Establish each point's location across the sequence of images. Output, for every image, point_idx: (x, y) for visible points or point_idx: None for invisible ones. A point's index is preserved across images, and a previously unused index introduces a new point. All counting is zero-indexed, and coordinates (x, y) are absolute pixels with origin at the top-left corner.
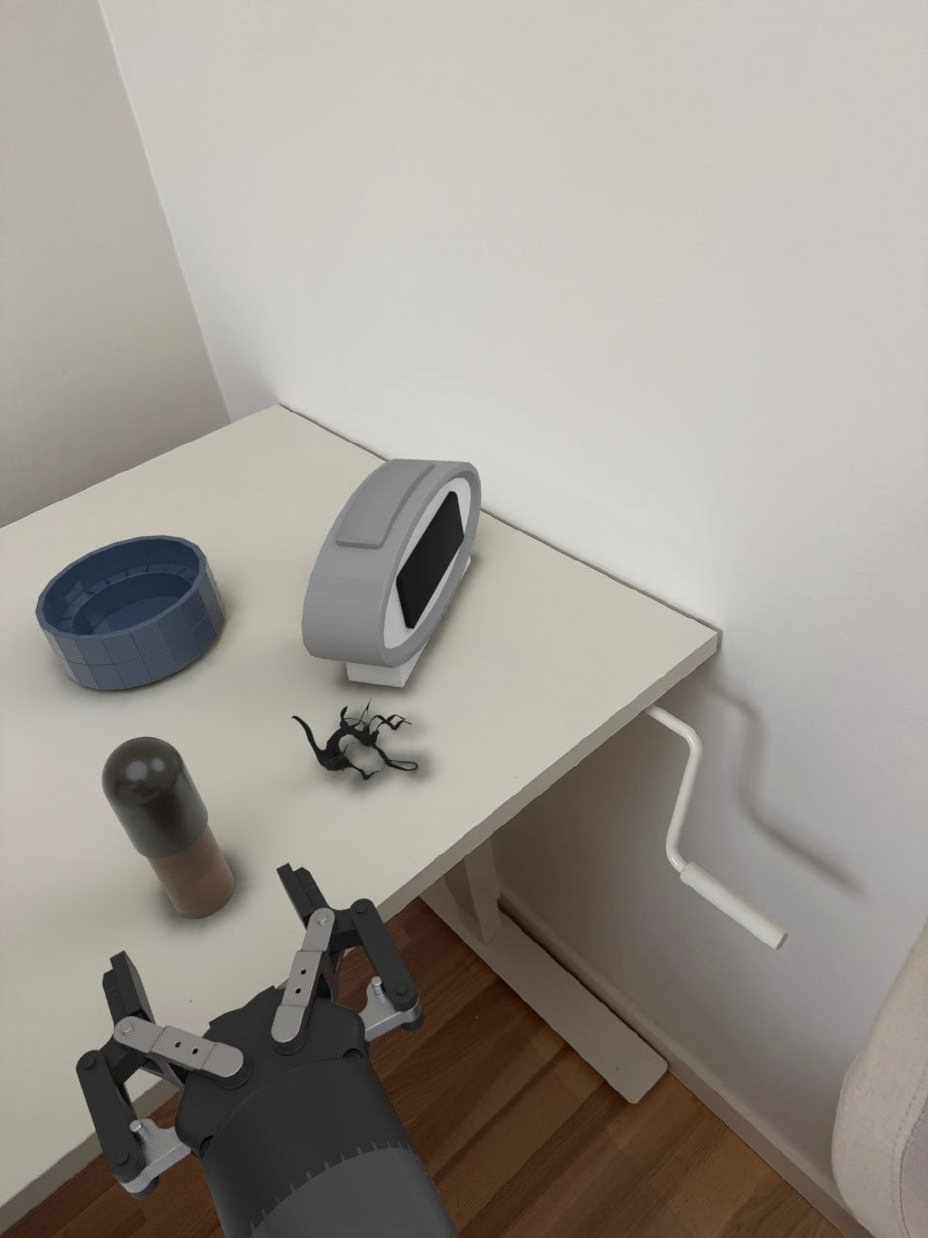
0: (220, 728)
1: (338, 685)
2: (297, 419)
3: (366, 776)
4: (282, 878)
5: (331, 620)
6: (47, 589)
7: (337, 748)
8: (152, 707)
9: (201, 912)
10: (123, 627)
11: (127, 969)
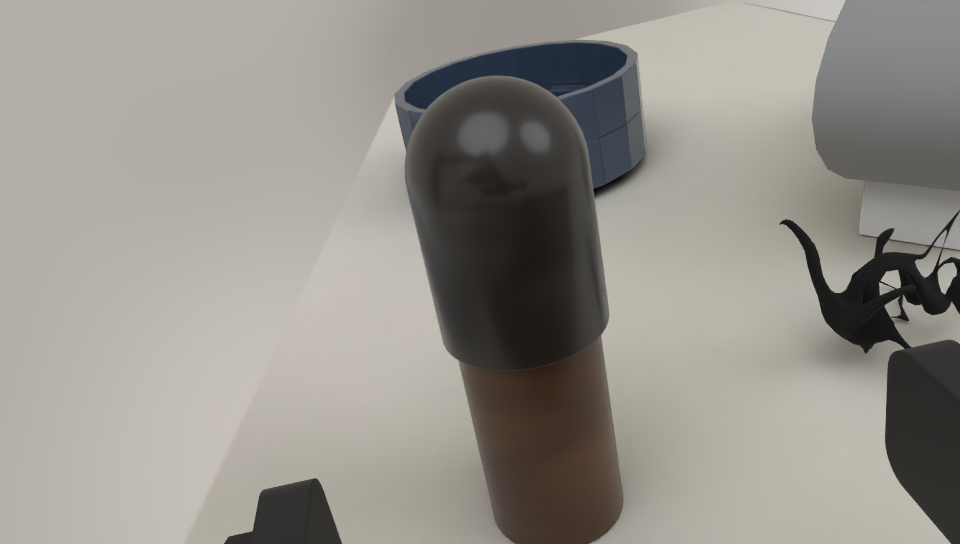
0: (622, 270)
1: (837, 239)
2: (754, 8)
3: None
4: (939, 375)
5: (885, 64)
6: (417, 78)
7: (875, 290)
8: None
9: (547, 537)
10: None
11: (299, 539)
